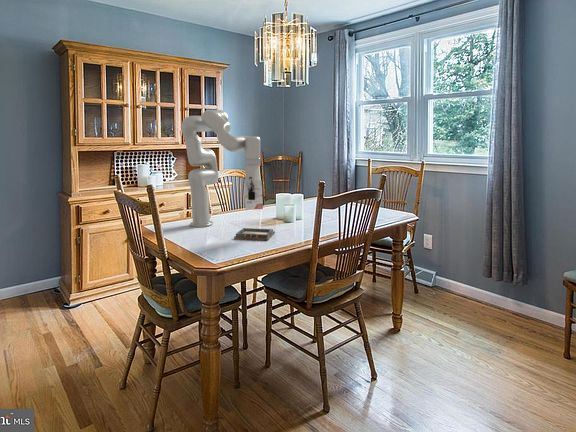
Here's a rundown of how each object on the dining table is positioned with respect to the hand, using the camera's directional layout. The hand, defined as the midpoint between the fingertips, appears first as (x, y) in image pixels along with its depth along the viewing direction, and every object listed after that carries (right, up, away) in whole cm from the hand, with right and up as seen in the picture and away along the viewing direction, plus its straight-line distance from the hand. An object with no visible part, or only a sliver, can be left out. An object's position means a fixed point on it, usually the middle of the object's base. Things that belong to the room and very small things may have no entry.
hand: (253, 198), depth 211 cm
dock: (0, -19, +4) cm, 19 cm away
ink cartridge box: (0, -5, +1) cm, 5 cm away
